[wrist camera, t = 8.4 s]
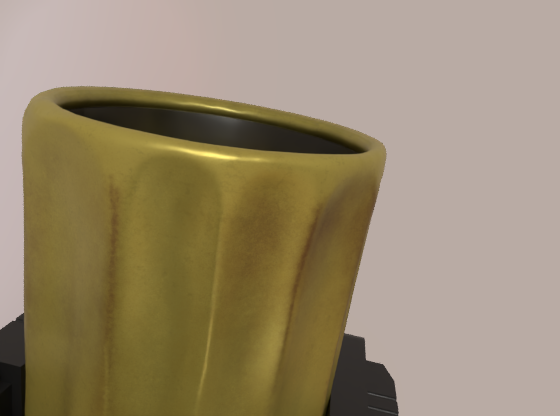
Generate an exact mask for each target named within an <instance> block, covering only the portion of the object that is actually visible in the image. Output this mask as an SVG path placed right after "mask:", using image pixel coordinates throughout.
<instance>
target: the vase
mask: <svg viewBox="0 0 560 416" xmlns="http://www.w3.org/2000/svg"><path fill="white" fill-rule="evenodd" d="M22 122H23V123H22V166H23V188H24V189H23V191H24V338H25V368H26V389H25V416H326V412H327V407H328V403H329V399H330V394H331V389H332V384H333V380H334V376H335V371H336V367H337V363H338V358H339V354H340V349H341V345H342V341H343V336H344V331H345V327H346V322H347V318H348V313H349V309H350V304H351V299H352V295H353V291H354V286H355V282H356V278H357V274H358V270H359V265H360V261H361V257H362V253H363V249H364V245H365V241H366V237H367V233H368V229H369V225H370V220H371V217H372V213H373V210H374V207H375V203H376V199H377V195H378V191H379V186H380V182H381V179H382V176H383V172H384V166H385V161H386V149H385V147H384V145H383V143H381V142H380V141H378V140H376V139H375V138H372V137H370V136H368V135H366V134H363V133H361V132H359V131H356V130H353V129H350V128H347V127H344V126H341V125H338V124H334V123H331V122H327V121H323V120H319V119H315V118H311V117H307V116H303V115H299V114H295V113H290V112H285V111H280V110H275V109H270V108H266V107H261V106H256V105H250V104H245V103H239V102H233V101H227V100H220V99H214V98H208V97H201V96H193V95H185V94H178V93H170V92H162V91H152V90H142V89H130V88H116V87H93V86H91V87H90V86H89V87H87V86H86V87H85V86H80V87H79V86H78V87H61V88H54V89H51V90H47V91H44V92H41V93H39V94H38V95H36V96H35V97H33V98H32V99H31V101H30V103H29V104H28V106H27V108H26V110H25V113H24V117H23V121H22Z"/></svg>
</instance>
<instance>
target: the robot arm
mask: <svg viewBox="0 0 560 416" xmlns="http://www.w3.org/2000/svg"><path fill="white" fill-rule="evenodd" d="M25 389H26V368H25V338H24V313H23V314H21V315H20V316H19V317H17V318H16V321H12V322H10V323H9V324H8V325H6V326H5V327H4V328H2V329H1V330H0V416H25ZM398 413H399V412H398V406H397V402H396V391H395V384H394V380H393V379H392V377H391V376H390V374H389V373H388V371H387V370H386V368H385V366H384V365H383V364H379V363H375V362H371V361H367V360H366V358H365V340H364V338H362V337H357V336H353V335H349V334H345V333H344V336H343V341H342V345H341V349H340V354H339V358H338V363H337V367H336V371H335V376H334V380H333V384H332V389H331V394H330V399H329V403H328V407H327V412H326V416H398Z"/></svg>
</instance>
